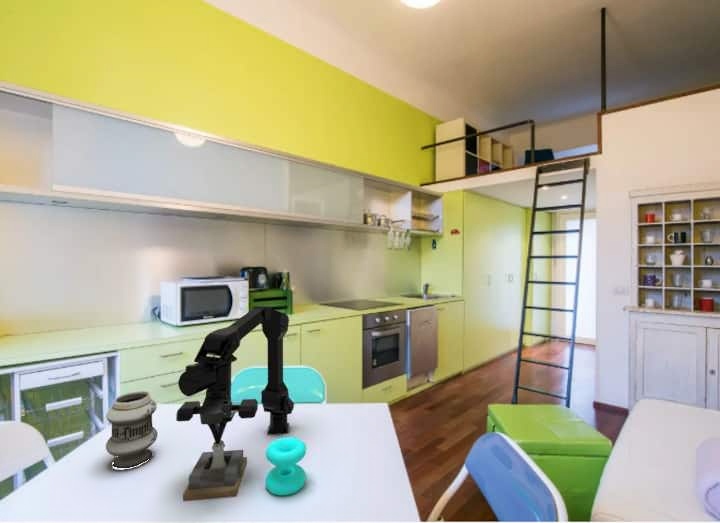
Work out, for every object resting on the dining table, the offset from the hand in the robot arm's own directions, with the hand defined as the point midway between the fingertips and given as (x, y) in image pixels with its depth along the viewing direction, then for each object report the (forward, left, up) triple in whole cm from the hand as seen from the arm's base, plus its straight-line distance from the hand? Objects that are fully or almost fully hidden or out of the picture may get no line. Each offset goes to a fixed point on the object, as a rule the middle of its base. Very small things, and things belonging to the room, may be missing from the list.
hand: (218, 442), depth 88 cm
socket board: (0, 0, -10) cm, 10 cm away
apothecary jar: (-12, -26, -10) cm, 30 cm away
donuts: (+4, +17, -10) cm, 20 cm away
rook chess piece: (0, 0, -8) cm, 8 cm away
